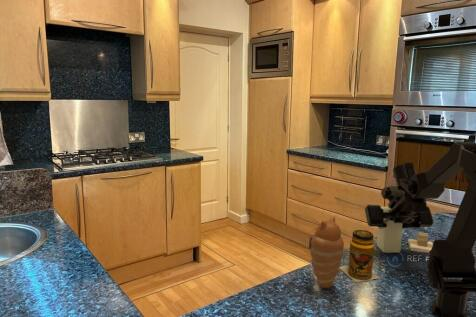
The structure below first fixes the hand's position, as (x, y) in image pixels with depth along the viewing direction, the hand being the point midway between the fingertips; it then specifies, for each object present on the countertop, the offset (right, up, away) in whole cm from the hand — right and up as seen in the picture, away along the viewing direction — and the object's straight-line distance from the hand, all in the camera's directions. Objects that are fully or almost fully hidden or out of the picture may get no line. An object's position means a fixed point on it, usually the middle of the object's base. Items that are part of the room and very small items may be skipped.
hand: (388, 227), depth 112 cm
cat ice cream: (-26, -11, -23) cm, 36 cm away
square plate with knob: (+11, -7, +1) cm, 13 cm away
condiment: (-15, -10, -15) cm, 23 cm away
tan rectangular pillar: (0, -7, 0) cm, 7 cm away
